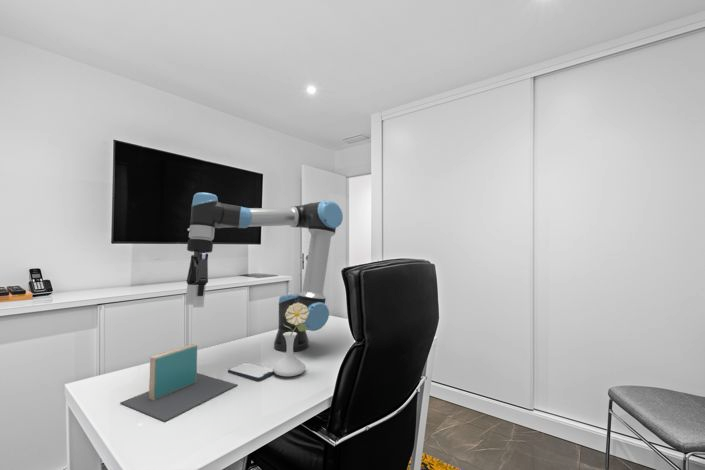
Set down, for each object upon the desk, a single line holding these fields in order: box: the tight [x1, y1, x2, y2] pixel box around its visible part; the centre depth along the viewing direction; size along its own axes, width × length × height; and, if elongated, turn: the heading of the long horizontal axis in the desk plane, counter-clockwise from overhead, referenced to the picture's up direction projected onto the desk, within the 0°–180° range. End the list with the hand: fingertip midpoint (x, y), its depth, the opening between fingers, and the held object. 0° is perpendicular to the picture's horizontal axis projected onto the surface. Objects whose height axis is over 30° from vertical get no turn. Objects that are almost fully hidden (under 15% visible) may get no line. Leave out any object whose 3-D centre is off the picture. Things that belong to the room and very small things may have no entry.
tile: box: [148, 343, 198, 400], centre depth 99 cm, size 14×2×12 cm, turn 153°
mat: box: [120, 372, 238, 423], centre depth 97 cm, size 24×20×1 cm
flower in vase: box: [272, 303, 309, 377], centre depth 114 cm, size 13×11×25 cm
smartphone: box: [227, 362, 276, 382], centre depth 114 cm, size 9×2×16 cm
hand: (193, 306), depth 102 cm, fingers open, 13 cm apart
